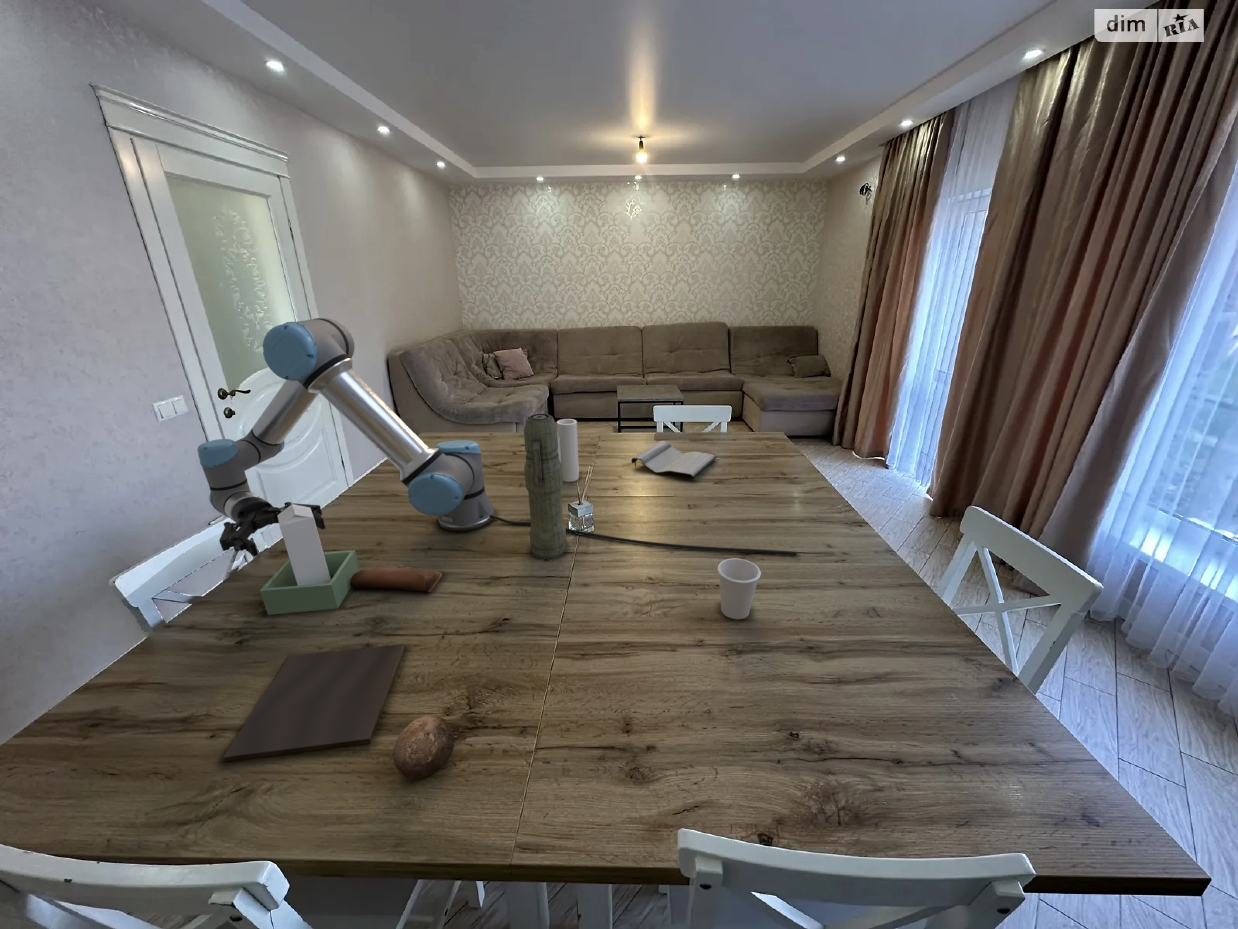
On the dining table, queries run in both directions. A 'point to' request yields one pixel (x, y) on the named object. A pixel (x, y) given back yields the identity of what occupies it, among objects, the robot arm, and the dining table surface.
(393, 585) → the sunglasses case
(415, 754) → the brown potato
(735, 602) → the dixie cup
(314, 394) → the robot arm
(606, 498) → the dining table surface
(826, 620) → the dining table surface
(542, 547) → the thermos
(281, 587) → the basket
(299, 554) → the milk
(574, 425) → the vase
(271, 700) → the board
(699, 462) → the mat
